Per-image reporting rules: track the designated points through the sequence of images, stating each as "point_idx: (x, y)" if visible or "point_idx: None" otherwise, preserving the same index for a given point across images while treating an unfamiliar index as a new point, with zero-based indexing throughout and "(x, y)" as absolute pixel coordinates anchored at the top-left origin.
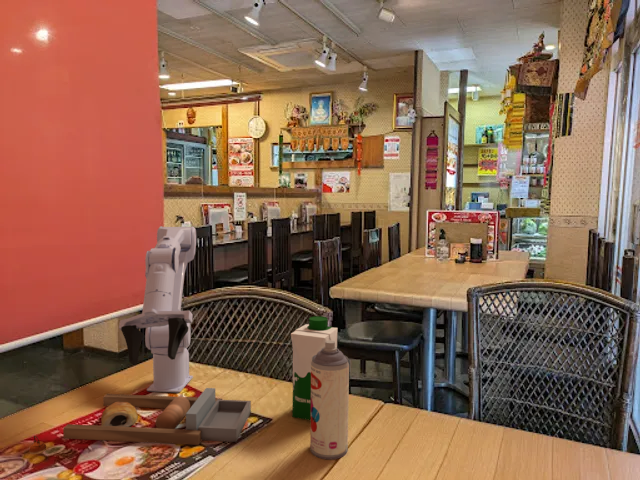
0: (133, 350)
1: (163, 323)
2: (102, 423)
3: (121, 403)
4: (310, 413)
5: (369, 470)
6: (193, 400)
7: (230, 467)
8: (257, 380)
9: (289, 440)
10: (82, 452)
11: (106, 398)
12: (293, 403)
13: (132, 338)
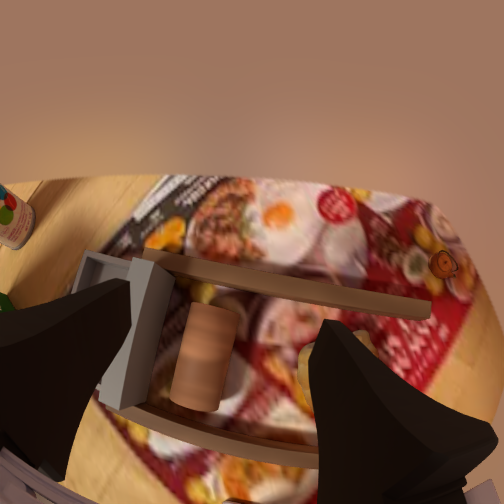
0: (338, 361)
1: (82, 498)
2: (368, 337)
3: None
4: (5, 300)
5: (16, 189)
6: (166, 419)
7: (117, 189)
8: None
9: (42, 253)
10: (366, 250)
11: None
12: None
13: (373, 397)
